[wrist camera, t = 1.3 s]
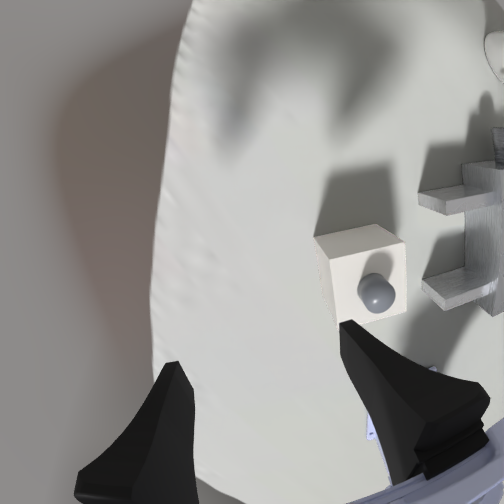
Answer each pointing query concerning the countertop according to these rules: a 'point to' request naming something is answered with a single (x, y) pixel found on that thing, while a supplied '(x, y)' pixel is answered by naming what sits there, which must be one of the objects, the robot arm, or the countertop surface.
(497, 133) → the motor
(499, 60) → the beer glass
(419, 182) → the countertop surface
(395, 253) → the white block
